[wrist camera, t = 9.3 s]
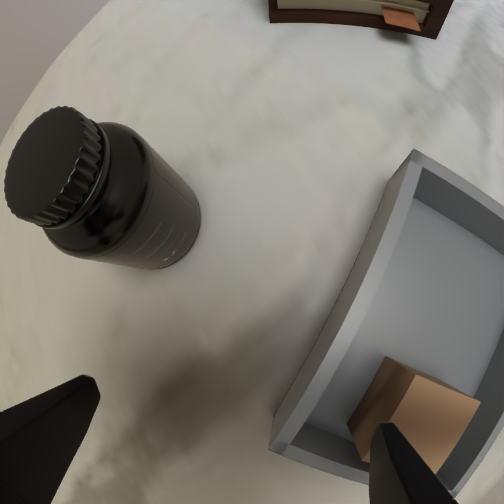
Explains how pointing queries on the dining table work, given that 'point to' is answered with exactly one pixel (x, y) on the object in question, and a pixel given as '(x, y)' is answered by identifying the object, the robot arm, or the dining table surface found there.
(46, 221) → the supplement bottle
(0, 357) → the dining table surface
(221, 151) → the dining table surface
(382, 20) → the decorative book
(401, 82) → the dining table surface
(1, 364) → the dining table surface
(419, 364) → the tote
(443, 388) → the walnut cube
